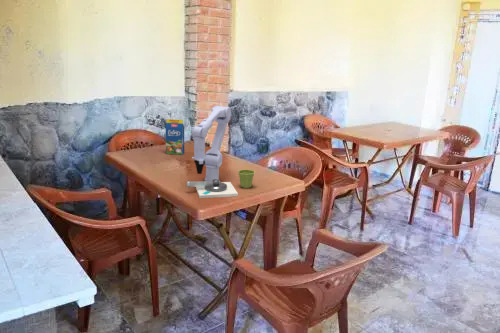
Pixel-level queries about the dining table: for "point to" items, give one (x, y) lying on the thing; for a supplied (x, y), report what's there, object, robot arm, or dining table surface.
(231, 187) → the base board
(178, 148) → the blue food package
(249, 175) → the plant pot
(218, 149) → the robot arm
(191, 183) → the crank handle
